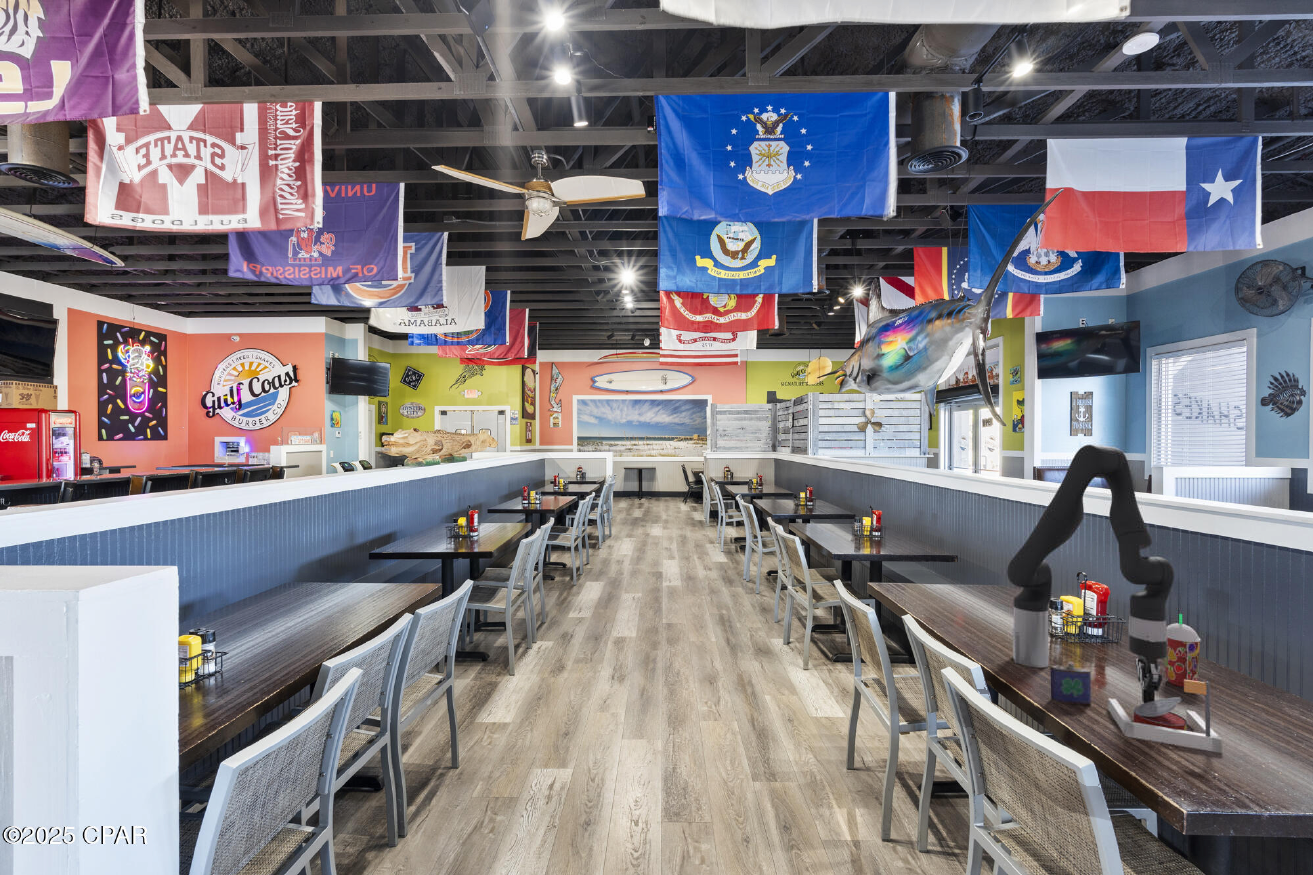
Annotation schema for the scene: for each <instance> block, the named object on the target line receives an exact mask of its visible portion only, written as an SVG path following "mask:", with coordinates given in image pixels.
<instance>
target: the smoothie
mask: <svg viewBox="0 0 1313 875" xmlns="http://www.w3.org/2000/svg"><path fill="white" fill-rule="evenodd" d="M1178 618H1179V619H1178V622H1176V623H1171V624H1169V625H1167V657H1166V658H1163V659H1164V668H1165V670H1164V671H1165V677H1166V678H1167V680H1168V682H1169V683H1171V684H1173V685H1175V686H1177V687H1182V688H1184V680H1191V681H1198V680H1199V679H1198V678H1199V668H1200V666H1199V665H1200V650H1201V638H1200V636H1199V635H1198V633H1197V631H1195V630H1194V628H1192V627H1190V626H1189V625H1187V624H1184V623H1183V614H1182V613H1179V614H1178Z"/></svg>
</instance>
